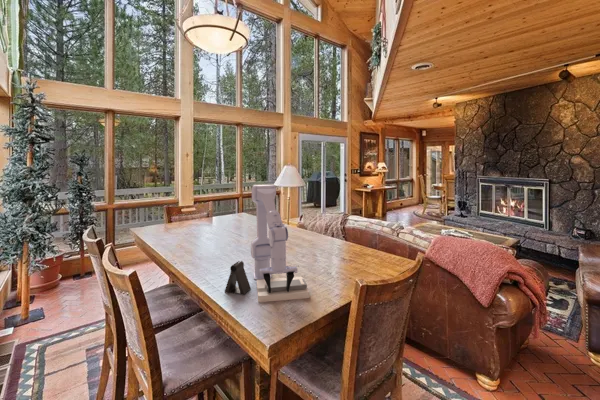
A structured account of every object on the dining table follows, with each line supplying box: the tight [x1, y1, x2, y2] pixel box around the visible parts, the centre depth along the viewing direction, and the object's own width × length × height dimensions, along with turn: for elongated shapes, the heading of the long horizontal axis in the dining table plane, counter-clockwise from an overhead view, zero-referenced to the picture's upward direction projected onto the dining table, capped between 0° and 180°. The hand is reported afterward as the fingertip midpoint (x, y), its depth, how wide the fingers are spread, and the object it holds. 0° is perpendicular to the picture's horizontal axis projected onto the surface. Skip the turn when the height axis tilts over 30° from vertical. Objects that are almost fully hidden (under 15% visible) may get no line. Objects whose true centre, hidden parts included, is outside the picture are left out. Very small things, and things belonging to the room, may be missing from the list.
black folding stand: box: [224, 260, 252, 296], centre depth 120 cm, size 9×6×12 cm, turn 73°
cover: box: [265, 278, 308, 292], centre depth 118 cm, size 6×17×2 cm, turn 101°
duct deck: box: [256, 276, 310, 303], centre depth 120 cm, size 16×20×2 cm
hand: (278, 291), depth 113 cm, fingers open, 6 cm apart
